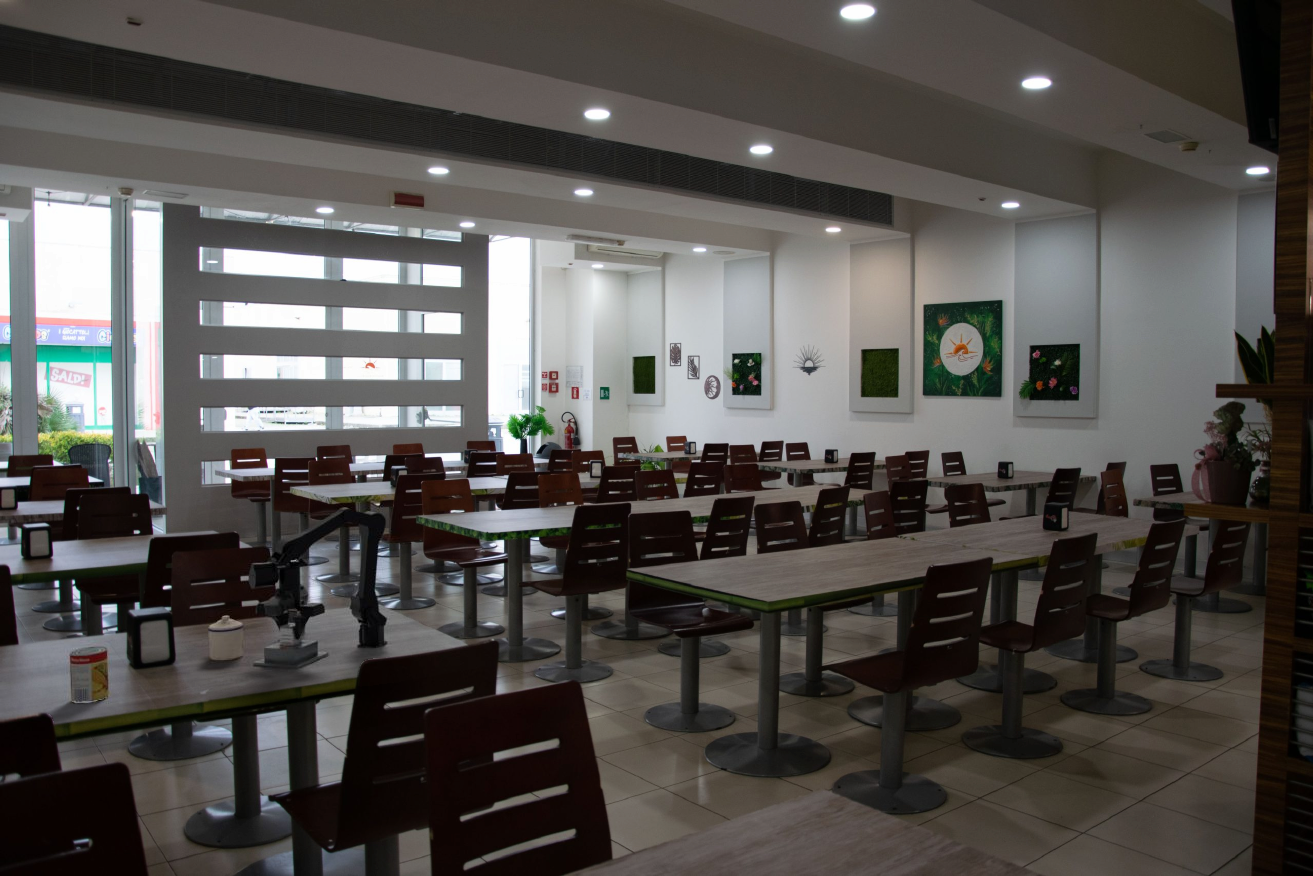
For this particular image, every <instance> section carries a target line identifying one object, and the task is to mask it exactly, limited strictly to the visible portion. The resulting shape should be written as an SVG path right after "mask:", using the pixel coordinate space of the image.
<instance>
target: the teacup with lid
mask: <svg viewBox="0 0 1313 876" xmlns="http://www.w3.org/2000/svg"><path fill="white" fill-rule="evenodd" d="M243 627H244V625H243V623H242V622H241V621H237V620H235V619H232V618H230V615H223V616H222V617H221V619H219V620H217V622H214V623H212V624H210V625H209V626H208V629H207V630H208V634H207V637H208V641H209V642H208V643H209V659H210V660H212V661H229V660H235V659H239V658H241V657H242V656H244V643H243V642H244V637H243V636H244V635H243V634H244V633H243Z"/></svg>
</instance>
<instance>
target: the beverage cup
mask: <svg viewBox="0 0 1313 876" xmlns="http://www.w3.org/2000/svg"><path fill="white" fill-rule="evenodd" d="M301 586H304V589H303V590H301V600H304V604H302V605H301V606H303V605H306V604H308V602H309V601H308V600H309V596H310V595H309V592H308V589H307V587H306V586H305V585H304V584H302V583H301ZM293 609H295V608H293ZM294 616H297V612H289V619H288V623H295V621H294V620H293V618H292V617H294ZM305 631H306V626H305V627H304V630H303V632H302V634H304V633H305Z"/></svg>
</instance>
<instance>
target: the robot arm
mask: <svg viewBox="0 0 1313 876" xmlns="http://www.w3.org/2000/svg"><path fill="white" fill-rule="evenodd" d="M348 523H352V524H354V525H358V531H359V535H360V539H361V541H362V544H361V545H362V546H361V557H360V567H359V579H358V580H359V582H358V590H357V592H356V594H355V595H352V594H351V596H350V606H349V608H348V609H349V610H351V615H352V616H353V618H355V619H357V623H358V624H360V625H359V630H358V643H357V645H356V646H357V647H358V648H371V649H372V648H373V649H376V648H379V647H381V646H383V645H386V644H387V643H388V641H387V640H385V626H386V625H387V621H388V617H386V616H385V615H384V614H383V613H381V612H380V606H379V599H378V596H377V592H376V583H377V582H376V581H377V571H378V557H379V545H380V541H381V540H382V538H383V536H384V533H385V529H386V525H387V519H386V517H385V516H384V515H383V513H382V514H381V513H379V512H374V511H365V512H361V511H357V510H354V509H351V508H348V507H341V508H339V509H338V510H337V511H335V512H333V513H332V514H331V515H329V516H327V517H325V518H324V519H322V520H320V521H319V522H317V523H316V524H314V525H312V526H310V527H309V528H307V529H305V530H304V531H303V530H302V531H301V532H298V533H294V534H291V535H287V536H286V537H283V538H281V539H279V540H278V541H277V542H276V544H275V548H274V549H275V550H274V551H273V553H272V554H271V555H270V557H269V559H268V560H267V562H253V563H251V564H250V565H251V566H250V568H249V569H250V570H249V572H248V573H249V574H248V583H249V587H250V588H251V589H253V590H254V589H259V588H260V589H261V588H266V587H274V586H275V585H276V584H278V587H277V588H276V589H275V591H274V596H272V597H271V598H269V599H268V600H264V601H261V602H258V603H257V604H256V607H255V614H258V615H266V616H267V617H268V618H271V619H272V620H273V621H274V622H275V624H276V626H277V628H278V631H279V632H280V626H282V625H285V624H287V623H288V619H289V612H297V616H294V617H292V618H293V620H294V621H295V636H296V640H298V639H300V637H301V634H303V633H302V632H303V630H304V627H305V628H306V625H307V623H308V621H309V620H310V618H314V617H317V616H319V615H323V614H325V613H326V606H325V605H324V604H323V602H310V603H307V604H306V605H303V606H301V605H302V604H304V600H301V590H303V589H304V586H305V585H304V586H301V584H302V583H301V581H302V580H301V568H303V567H304V568H305V567H308V566H309V563H307V562H306V561H304V559H303V557H302V556H303V555H305V554H306V553H307V552H308V550H310V548H311V547H312V546H313V545H314V544H315V543H317V542H318V541H320V540H322V539H323V538H325V537H327V536H328V535H330V534H331V533H333V532H335V531H337V530H339V529H340V528H341V527H343V526H345V525H346V524H348ZM293 608H295V609H293Z"/></svg>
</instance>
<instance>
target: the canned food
mask: <svg viewBox="0 0 1313 876" xmlns="http://www.w3.org/2000/svg"><path fill="white" fill-rule="evenodd" d="M108 657H109V656H108V647H107V646H97V645H96V646H89V647H80V648H78V649H74V650H71V651H70V652H69V668H70V669H69V670H70V671H69V673H70V698H71V699H70V701H71V700H72V701H76V702H78V701H79V702H82V701H94V700H99V699H103V698H105V697H107V696H108V695H109V694H110V692H109V667H108V666H109V665H108V664H109V663H108V662H109V660H108V659H109V658H108Z"/></svg>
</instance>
